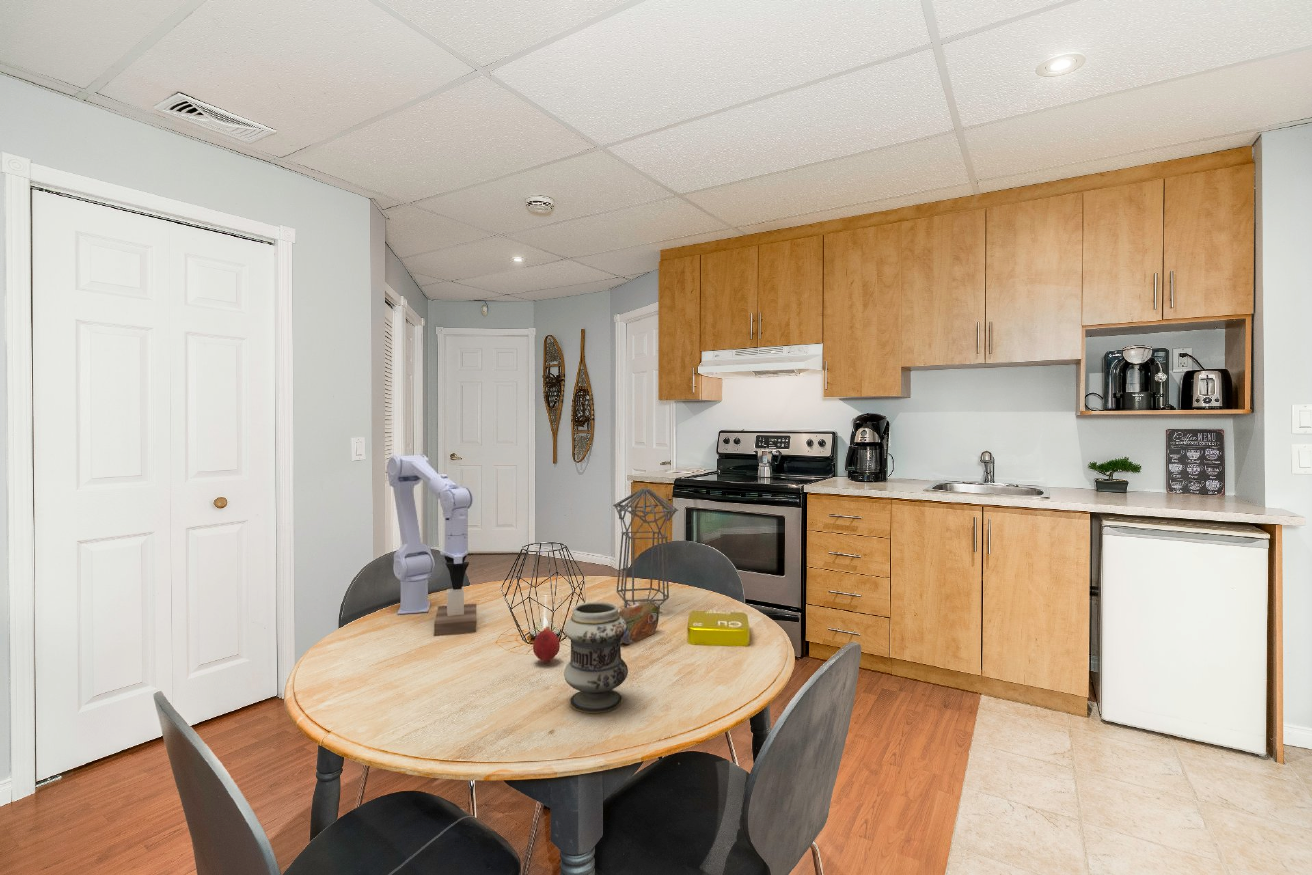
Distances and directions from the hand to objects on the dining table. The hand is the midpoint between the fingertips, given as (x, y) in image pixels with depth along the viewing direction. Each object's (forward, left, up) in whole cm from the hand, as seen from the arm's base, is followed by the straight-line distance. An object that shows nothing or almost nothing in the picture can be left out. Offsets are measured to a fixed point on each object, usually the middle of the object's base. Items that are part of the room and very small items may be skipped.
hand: (456, 585), depth 161 cm
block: (0, 0, -7) cm, 7 cm away
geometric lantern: (+1, +51, -10) cm, 52 cm away
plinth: (0, 0, -10) cm, 10 cm away
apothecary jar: (+55, +27, -10) cm, 62 cm away
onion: (+33, +20, -10) cm, 40 cm away
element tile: (+26, +63, -11) cm, 69 cm away
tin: (+23, +43, -10) cm, 50 cm away
